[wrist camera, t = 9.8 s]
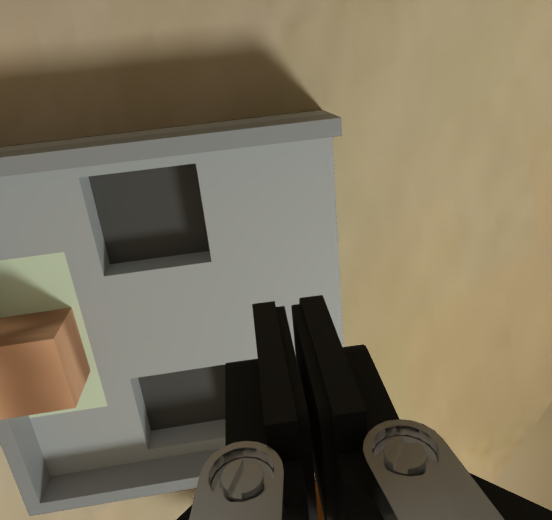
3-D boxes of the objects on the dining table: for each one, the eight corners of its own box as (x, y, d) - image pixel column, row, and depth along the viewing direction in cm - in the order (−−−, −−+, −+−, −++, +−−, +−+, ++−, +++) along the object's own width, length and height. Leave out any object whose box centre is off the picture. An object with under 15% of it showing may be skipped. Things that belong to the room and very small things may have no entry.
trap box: (322, 110, 32) (341, 117, 27) (341, 416, 42) (357, 460, 37) (-60, 154, 30) (-109, 170, 26) (50, 463, 40) (29, 516, 35)
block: (71, 307, 32) (53, 338, 29) (90, 370, 34) (75, 407, 31) (-7, 318, 32) (-35, 352, 28) (17, 382, 34) (-7, 421, 30)
